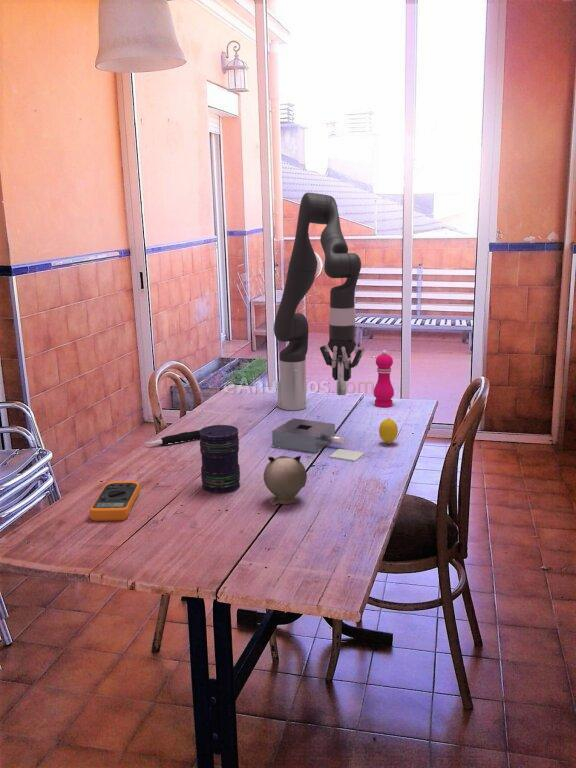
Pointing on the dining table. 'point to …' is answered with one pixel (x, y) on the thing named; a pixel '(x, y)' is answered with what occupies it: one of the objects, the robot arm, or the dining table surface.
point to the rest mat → (346, 455)
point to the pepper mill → (383, 381)
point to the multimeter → (115, 501)
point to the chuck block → (305, 435)
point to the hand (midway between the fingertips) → (341, 379)
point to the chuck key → (340, 376)
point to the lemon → (388, 430)
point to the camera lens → (219, 459)
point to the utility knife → (177, 438)
